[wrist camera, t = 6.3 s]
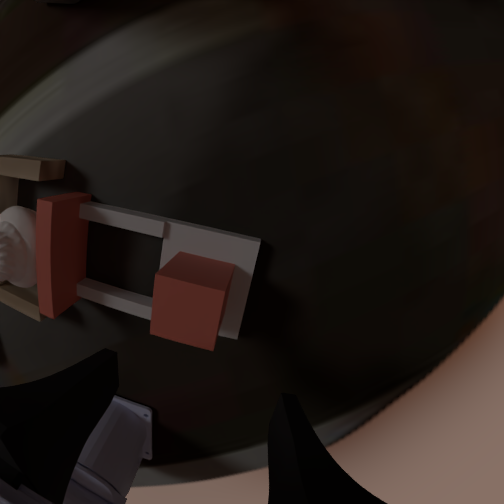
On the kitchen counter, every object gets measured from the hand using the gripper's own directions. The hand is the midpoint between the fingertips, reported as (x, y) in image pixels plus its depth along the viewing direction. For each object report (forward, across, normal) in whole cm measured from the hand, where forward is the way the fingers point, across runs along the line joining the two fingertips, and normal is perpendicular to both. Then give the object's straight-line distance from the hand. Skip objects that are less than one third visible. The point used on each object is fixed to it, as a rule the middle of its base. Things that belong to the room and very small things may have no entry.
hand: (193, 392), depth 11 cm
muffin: (+10, +16, -2) cm, 18 cm away
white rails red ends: (+9, +5, -1) cm, 11 cm away
